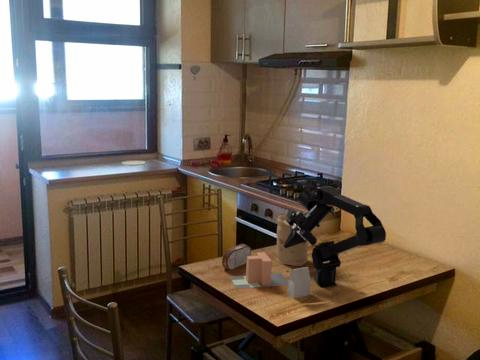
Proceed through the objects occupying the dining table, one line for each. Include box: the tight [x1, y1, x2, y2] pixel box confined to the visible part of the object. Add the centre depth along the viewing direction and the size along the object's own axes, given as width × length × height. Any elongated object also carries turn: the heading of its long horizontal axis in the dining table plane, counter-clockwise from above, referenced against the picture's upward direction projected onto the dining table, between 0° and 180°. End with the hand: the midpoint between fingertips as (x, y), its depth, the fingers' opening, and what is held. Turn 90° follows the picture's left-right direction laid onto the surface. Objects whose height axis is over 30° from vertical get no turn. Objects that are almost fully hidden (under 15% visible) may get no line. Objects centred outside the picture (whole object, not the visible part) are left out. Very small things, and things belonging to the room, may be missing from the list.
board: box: [229, 272, 288, 290], centre depth 186 cm, size 20×11×1 cm, turn 104°
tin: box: [221, 243, 252, 271], centre depth 199 cm, size 15×3×8 cm, turn 141°
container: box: [275, 213, 309, 267], centre depth 205 cm, size 13×13×18 cm
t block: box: [245, 251, 273, 286], centre depth 184 cm, size 8×9×9 cm
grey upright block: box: [286, 266, 312, 299], centre depth 174 cm, size 4×7×10 cm, turn 119°
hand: (284, 247), depth 185 cm, fingers closed
